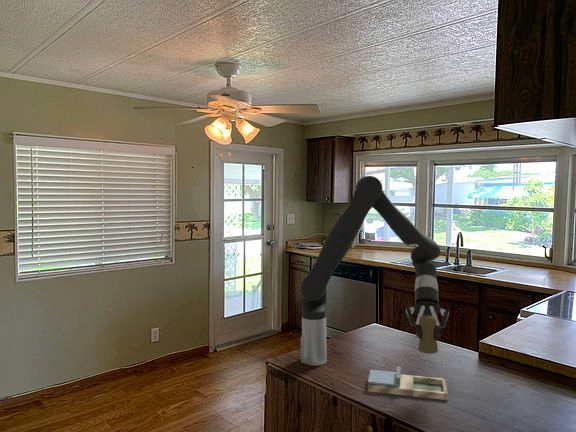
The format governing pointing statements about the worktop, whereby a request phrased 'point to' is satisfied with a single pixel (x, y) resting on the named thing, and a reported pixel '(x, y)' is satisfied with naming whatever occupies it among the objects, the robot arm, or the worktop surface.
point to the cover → (385, 377)
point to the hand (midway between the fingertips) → (427, 337)
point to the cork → (428, 335)
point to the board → (415, 387)
